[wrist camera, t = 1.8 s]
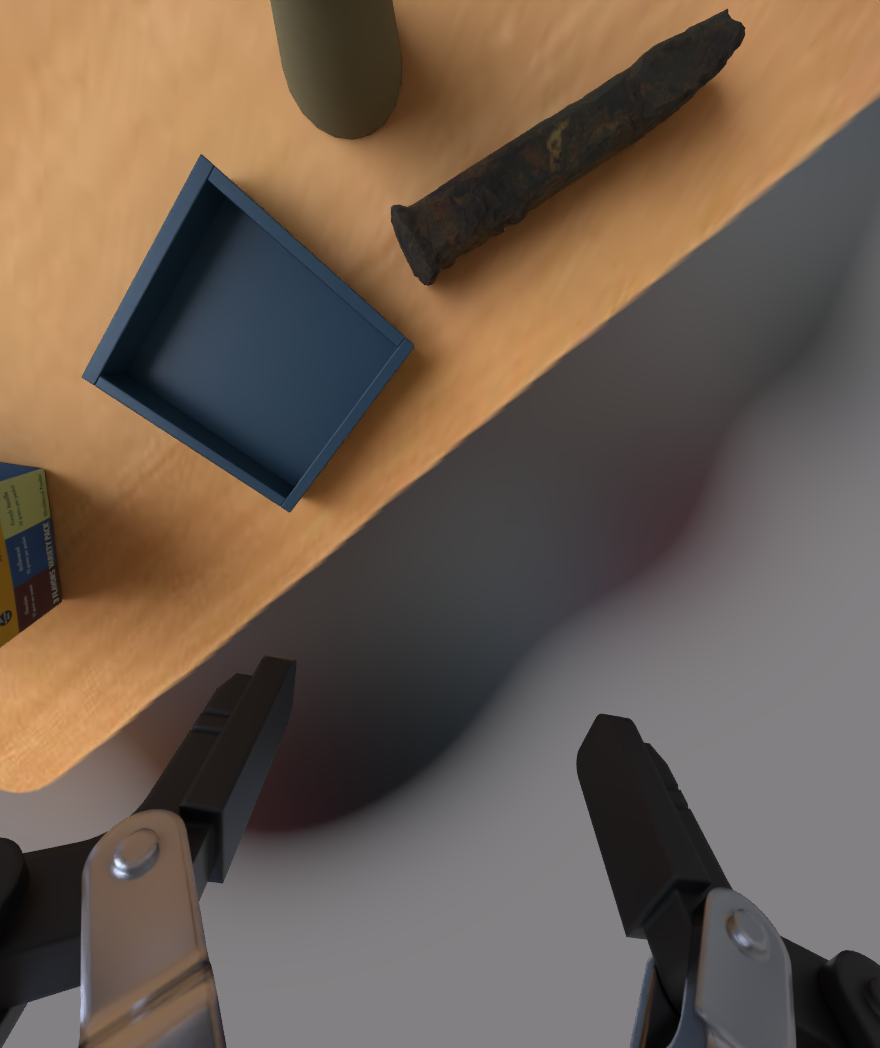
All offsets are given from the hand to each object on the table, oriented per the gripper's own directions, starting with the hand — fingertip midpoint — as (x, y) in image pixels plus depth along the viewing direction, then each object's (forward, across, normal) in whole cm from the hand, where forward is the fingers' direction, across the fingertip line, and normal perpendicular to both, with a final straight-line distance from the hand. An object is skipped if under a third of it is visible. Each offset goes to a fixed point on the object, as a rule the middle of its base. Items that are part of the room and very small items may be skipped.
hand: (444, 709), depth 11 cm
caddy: (+20, +12, -5) cm, 24 cm away
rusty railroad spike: (+22, -1, -19) cm, 29 cm away
